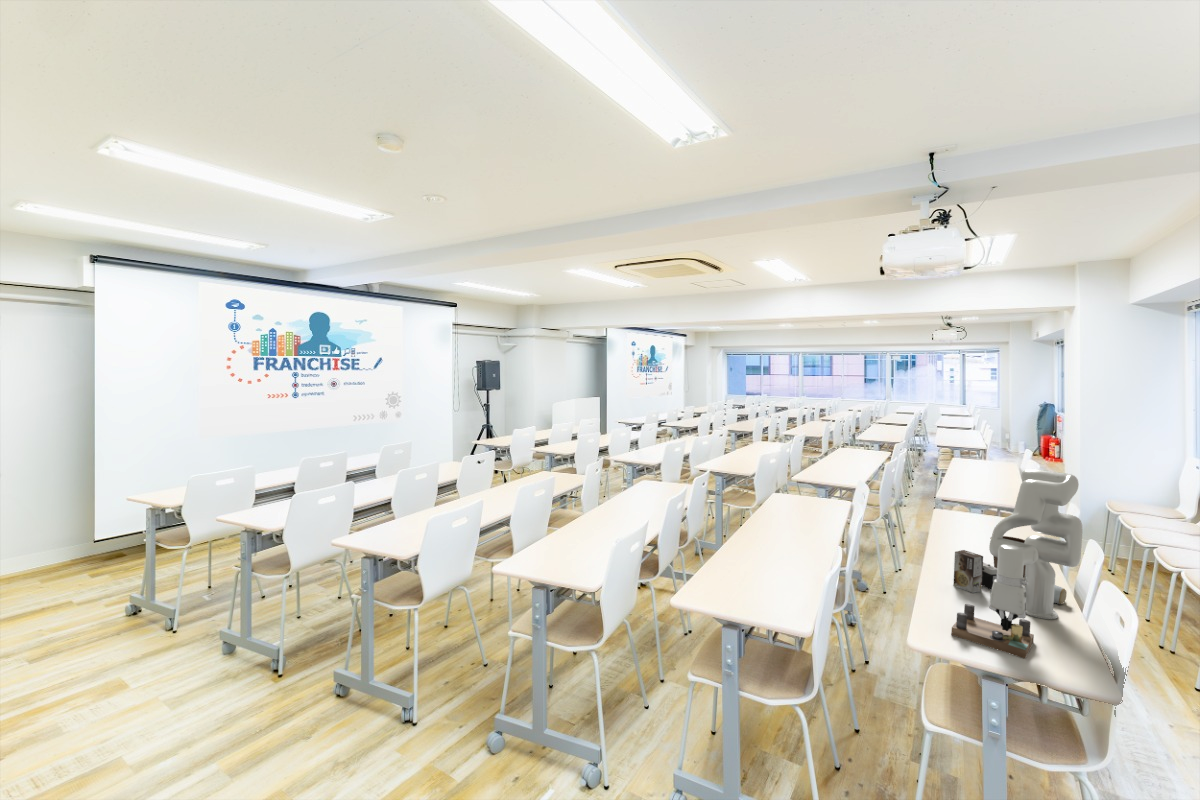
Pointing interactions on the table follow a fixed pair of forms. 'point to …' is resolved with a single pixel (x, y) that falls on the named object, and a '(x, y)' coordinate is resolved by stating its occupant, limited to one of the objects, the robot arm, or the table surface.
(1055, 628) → the table surface
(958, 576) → the coffee box
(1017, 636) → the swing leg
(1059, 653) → the table surface
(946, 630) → the table surface
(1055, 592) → the ceramic mug
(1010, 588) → the robot arm
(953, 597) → the table surface
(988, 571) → the camera
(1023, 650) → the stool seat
